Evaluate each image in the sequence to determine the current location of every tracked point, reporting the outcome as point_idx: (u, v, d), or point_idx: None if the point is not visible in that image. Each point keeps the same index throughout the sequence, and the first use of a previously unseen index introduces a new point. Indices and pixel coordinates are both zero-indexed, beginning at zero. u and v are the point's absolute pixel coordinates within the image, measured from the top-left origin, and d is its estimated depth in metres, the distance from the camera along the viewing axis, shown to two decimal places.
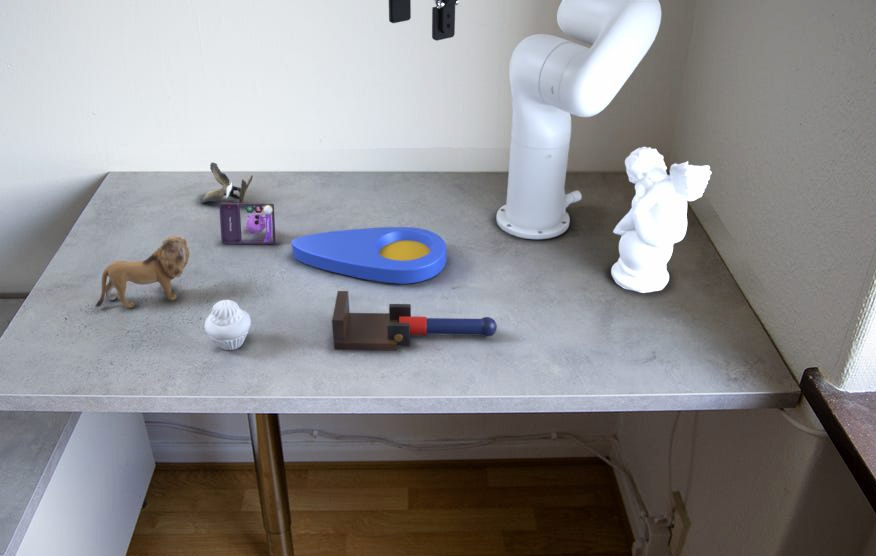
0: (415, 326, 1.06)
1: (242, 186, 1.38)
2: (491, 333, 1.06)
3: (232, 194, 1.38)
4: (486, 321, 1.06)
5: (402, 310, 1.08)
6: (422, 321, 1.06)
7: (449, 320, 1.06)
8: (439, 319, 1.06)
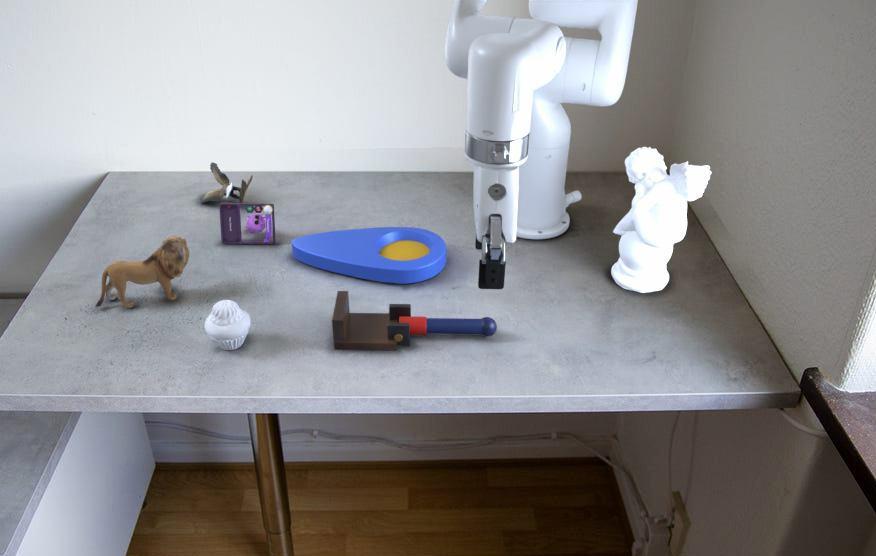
0: (415, 326, 1.06)
1: (242, 186, 1.38)
2: (491, 333, 1.06)
3: (232, 194, 1.38)
4: (486, 321, 1.06)
5: (402, 310, 1.08)
6: (422, 321, 1.06)
7: (449, 320, 1.06)
8: (439, 319, 1.06)
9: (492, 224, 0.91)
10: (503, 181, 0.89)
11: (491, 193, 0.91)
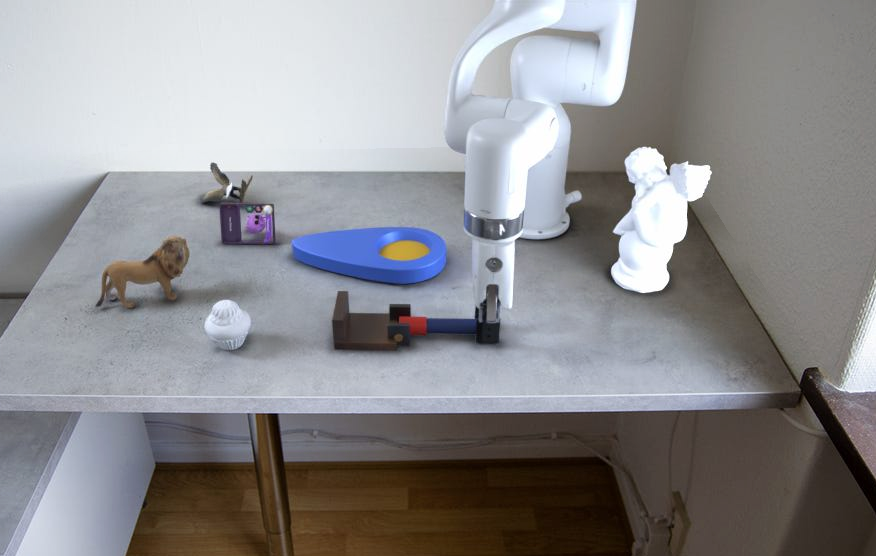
0: (415, 326, 1.06)
1: (242, 186, 1.38)
2: None
3: (232, 194, 1.38)
4: None
5: (402, 310, 1.08)
6: (422, 321, 1.06)
7: (449, 320, 1.06)
8: (439, 319, 1.06)
9: (488, 299, 0.98)
10: (499, 255, 0.95)
11: (488, 265, 0.97)
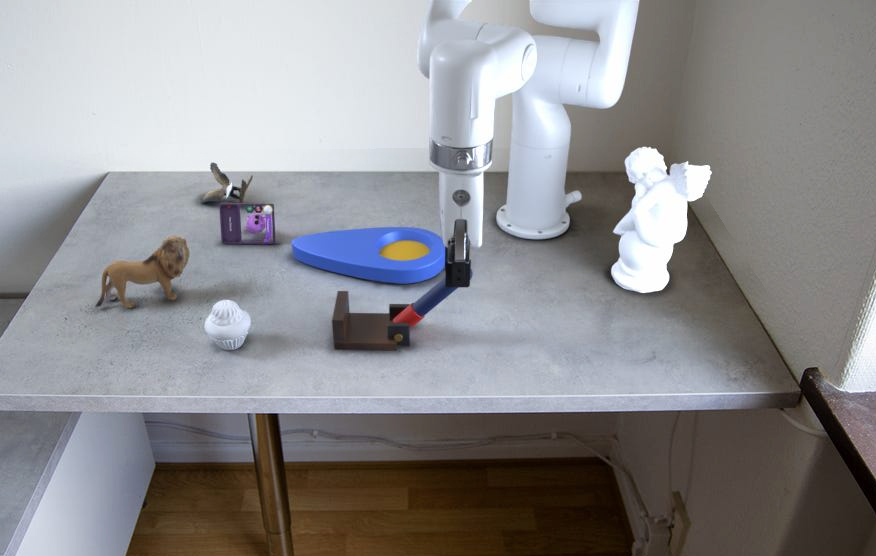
0: (406, 317, 1.05)
1: (242, 186, 1.38)
2: None
3: (232, 194, 1.38)
4: None
5: (402, 310, 1.08)
6: (409, 309, 1.05)
7: (429, 292, 1.04)
8: (421, 297, 1.04)
9: (457, 236, 0.93)
10: (467, 187, 0.89)
11: (456, 199, 0.91)
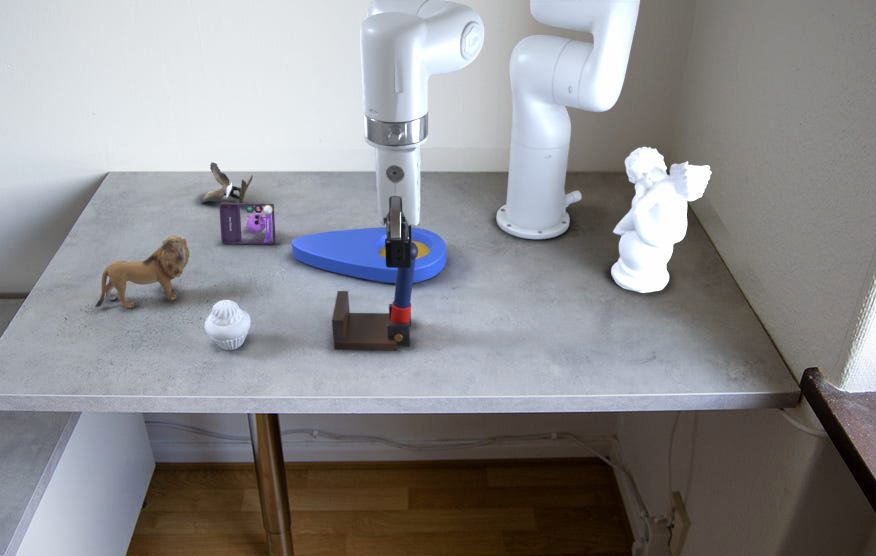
0: (395, 316, 1.05)
1: (242, 186, 1.38)
2: None
3: (232, 194, 1.38)
4: None
5: None
6: (392, 308, 1.05)
7: (396, 283, 1.03)
8: (395, 291, 1.04)
9: (392, 214, 0.91)
10: (400, 163, 0.88)
11: (390, 175, 0.90)
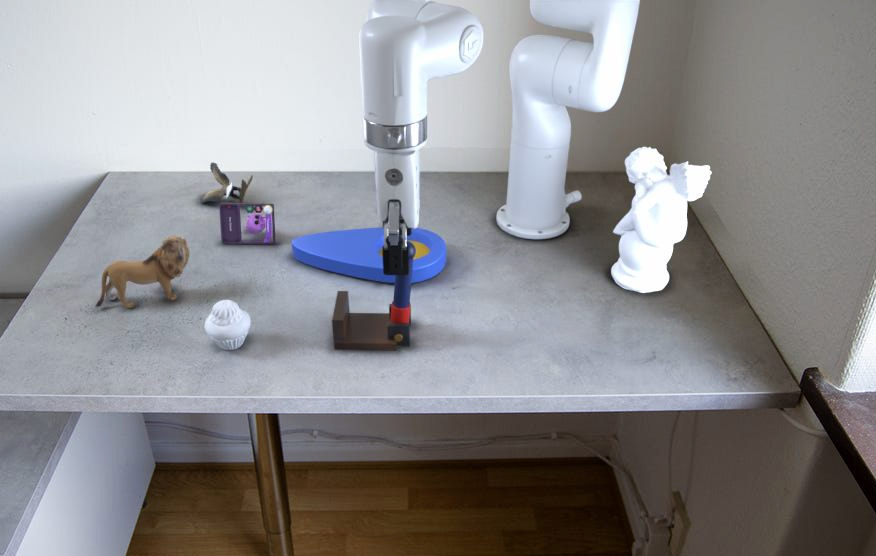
0: (394, 316, 1.05)
1: (242, 186, 1.38)
2: None
3: (232, 194, 1.38)
4: None
5: None
6: (392, 308, 1.05)
7: (395, 283, 1.03)
8: (394, 291, 1.04)
9: (390, 210, 0.90)
10: (399, 166, 0.88)
11: (389, 178, 0.90)
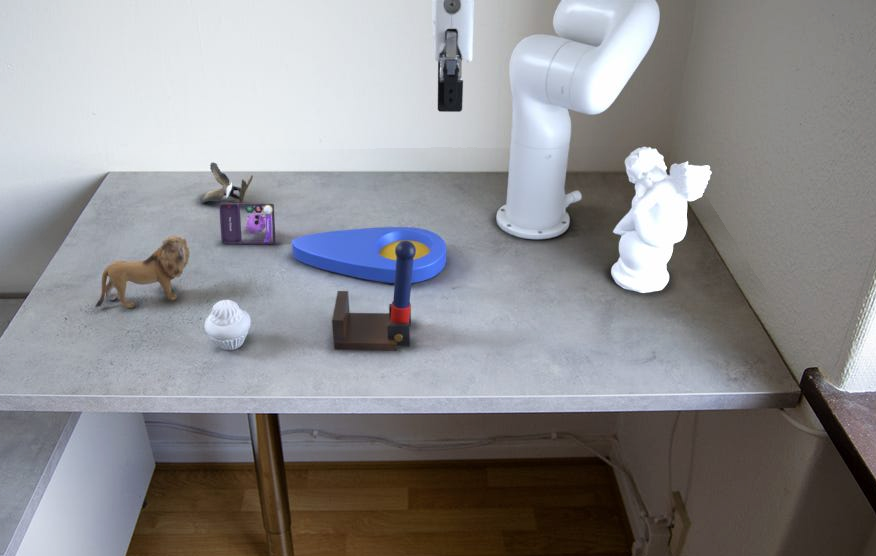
0: (394, 316, 1.05)
1: (242, 186, 1.38)
2: (407, 252, 0.99)
3: (232, 194, 1.38)
4: (395, 253, 1.00)
5: None
6: (392, 308, 1.05)
7: (395, 283, 1.03)
8: (394, 291, 1.04)
9: (448, 38, 0.94)
10: None
11: (447, 8, 0.94)
